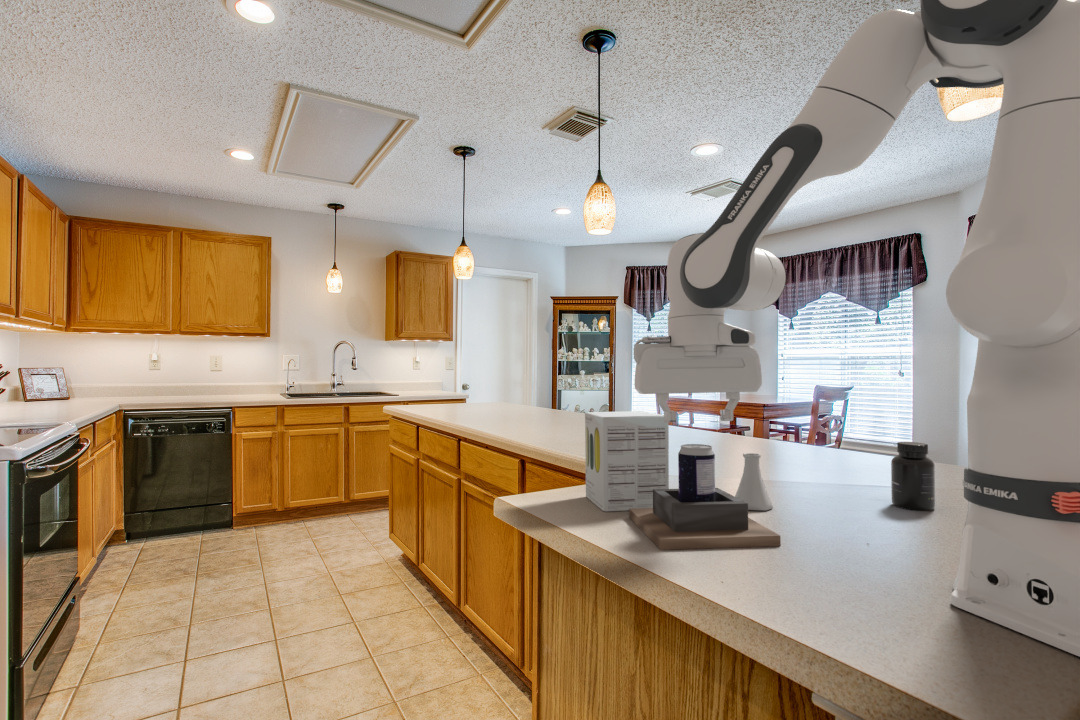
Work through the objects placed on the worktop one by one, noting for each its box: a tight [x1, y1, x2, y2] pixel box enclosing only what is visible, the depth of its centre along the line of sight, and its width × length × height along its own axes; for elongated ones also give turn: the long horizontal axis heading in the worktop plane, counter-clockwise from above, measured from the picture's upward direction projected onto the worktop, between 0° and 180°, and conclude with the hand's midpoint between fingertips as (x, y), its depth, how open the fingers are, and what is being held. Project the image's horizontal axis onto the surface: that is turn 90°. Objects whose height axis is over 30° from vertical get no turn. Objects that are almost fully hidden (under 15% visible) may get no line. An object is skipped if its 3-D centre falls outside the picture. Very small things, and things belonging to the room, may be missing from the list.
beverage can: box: [677, 443, 716, 503], centre depth 89 cm, size 6×6×12 cm
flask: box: [734, 452, 774, 511], centre depth 104 cm, size 7×7×10 cm
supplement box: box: [584, 410, 670, 512], centre depth 108 cm, size 13×13×18 cm
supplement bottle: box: [890, 441, 936, 512], centre depth 104 cm, size 7×7×12 cm
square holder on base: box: [628, 487, 782, 551], centre depth 89 cm, size 18×18×6 cm
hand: (698, 421), depth 89 cm, fingers open, 8 cm apart
